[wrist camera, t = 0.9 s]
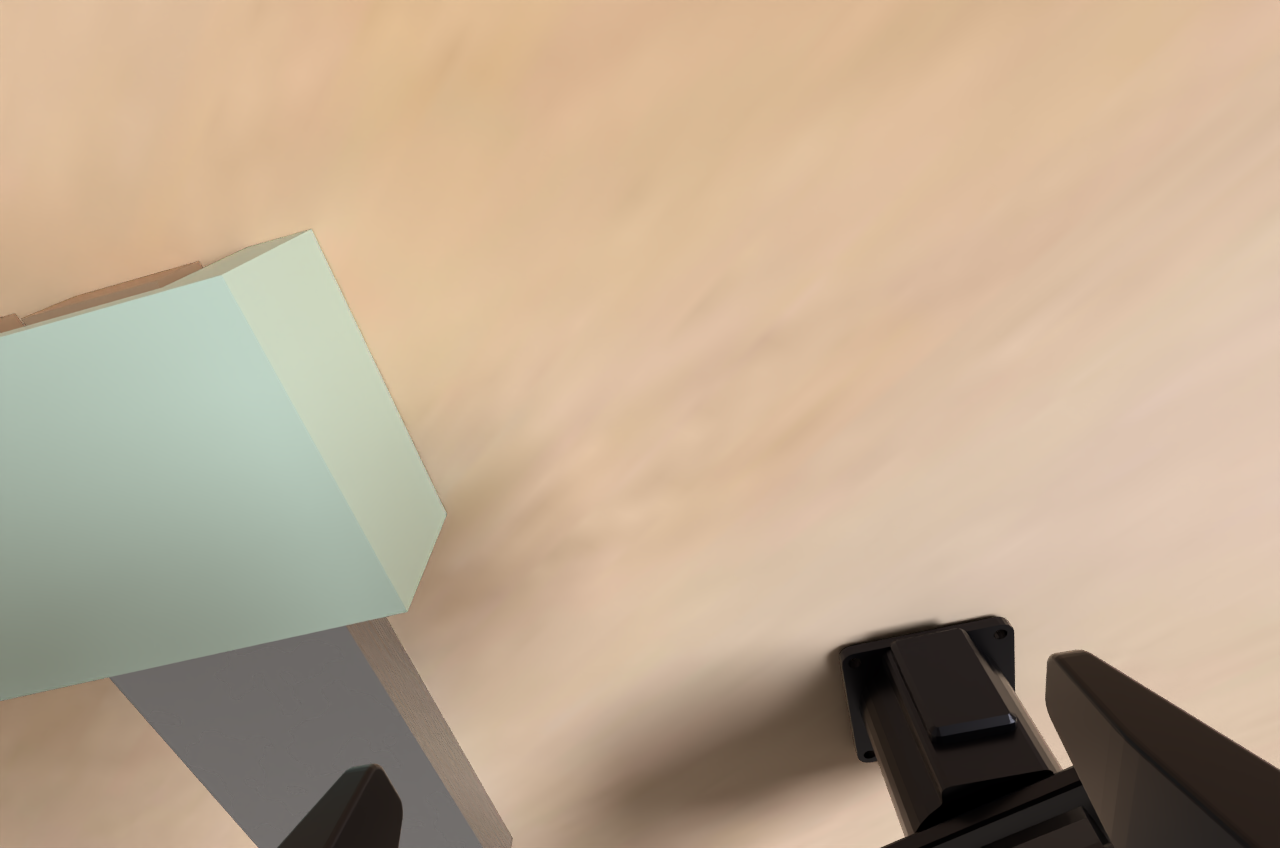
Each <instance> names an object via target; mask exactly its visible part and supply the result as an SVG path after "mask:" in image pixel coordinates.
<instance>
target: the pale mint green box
mask: <svg viewBox="0 0 1280 848" xmlns="http://www.w3.org/2000/svg"><path fill="white" fill-rule="evenodd" d="M22 321H23V322H24V323H25V325H26V326H23V324H22V323H21V321H20V320H19V319H18V317H17V316H16V314H11V315H8V316H4V317H1V318H0V701H3V700H8V699H12V698H17V697H21V696H26V695H30V694H35V693H40V692H44V691H49V690H53V689H58V688H62V687H67V686H71V685H76V684H81V683H85V682H90V681H94V680H99V679H103V678H108V677H113V676H117V675H122V674H126V673H131V672H135V671H140V670H145V669H149V668H154V667H158V666H163V665H167V664H172V663H176V662H181V661H186V660H190V659H195V658H199V657H204V656H208V655H213V654H218V653H222V652H227V651H231V650H236V649H240V648H245V647H250V646H254V645H259V644H263V643H268V642H272V641H277V640H282V639H286V638H291V637H295V636H300V635H304V634H309V633H313V632H318V631H323V630H327V629H332V628H336V627H341V626H345V625H350V624H355V623H359V622H364V621H368V620H373V619H377V618H382V617H387V616H391V615H396V614H400V613H405V612H408V609H409V607H410V605H411V602H412V600H413V597H414V595H415V592H416V590H417V587H418V585H419V582H420V580H421V577H422V575H423V572H424V570H425V567H426V565H427V562H428V560H429V557H430V555H431V553H432V550H433V548H434V545H435V543H436V540H437V538H438V535H439V533H440V530H441V528H442V525H443V523H444V520H445V518H446V515H447V513H446V511H445V509H444V507H443V505H442V503H441V501H440V498H439V496H438V494H437V492H436V490H435V488H434V486H433V484H432V482H431V480H430V477H429V475H428V473H427V471H426V469H425V467H424V465H423V463H422V461H421V458H420V456H419V454H418V452H417V450H416V448H415V446H414V444H413V442H412V440H411V437H410V435H409V433H408V431H407V429H406V427H405V425H404V423H403V421H402V418H401V416H400V414H399V412H398V410H397V408H396V406H395V404H394V402H393V400H392V397H391V395H390V393H389V391H388V389H387V387H386V385H385V383H384V381H383V379H382V376H381V374H380V372H379V370H378V368H377V366H376V364H375V362H374V360H373V357H372V355H371V353H370V351H369V349H368V347H367V345H366V343H365V341H364V339H363V336H362V334H361V332H360V330H359V328H358V326H357V324H356V322H355V320H354V318H353V315H352V313H351V311H350V309H349V307H348V305H347V303H346V301H345V299H344V296H343V294H342V292H341V290H340V288H339V286H338V284H337V282H336V280H335V278H334V275H333V273H332V271H331V269H330V267H329V265H328V263H327V261H326V259H325V257H324V254H323V252H322V250H321V248H320V246H319V244H318V242H317V240H316V238H315V235H314V233H313V231H312V229H310V230H306V231H303V232H299V233H296V234H292V235H289V236H285V237H282V238H278V239H275V240H271V241H268V242H264V243H261V244H257V245H254V246H250V247H247V248H245V249H242V250H240V251H238V252H236V253H234V254H232V255H230V256H228V257H225V258H223V259H221V260H219V261H217V262H215V263H213V264H211V265H209V266H206V267H204V268H202V266H201V264H200V262H199V261H198V262H194V263H190V264H187V265H183V266H180V267H176V268H173V269H169V270H166V271H162V272H159V273H155V274H152V275H148V276H145V277H141V278H138V279H134V280H131V281H127V282H124V283H120V284H117V285H113V286H110V287H106V288H103V289H99V290H96V291H92V292H89V293H85V294H82V295H78V296H75V297H72V298H70V299H67V300H65V301H63V302H60V303H58V304H55V305H53V306H51V307H48V308H46V309H43V310H41V311H38V312H36V313H34V314H31V315H29V316H26V317H24V318H22Z"/></svg>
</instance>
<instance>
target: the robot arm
mask: <svg viewBox="0 0 1280 848" xmlns="http://www.w3.org/2000/svg"><path fill="white" fill-rule="evenodd" d="M998 630H999V631H998ZM854 658H856V659H854ZM851 659H854V660H851ZM839 660H840V666H841V672H842V677H843V683H844V689H845V694H846V700H847V706H848V712H849V717H850V723H851V729H852V734H853V740H854V746H855V750H856V753H857V756H858V758H859V760H861V761H862V762H875V761H878V764H879V766H880V769H881V772H882V775H883V778H884V780H885V783H886V786H887V789H888V791H889V794H890V797H891V800H892V802H893V805H894V808H895V811H896V814H897V816H898V819H899V822H900V825H901V827H902V830H903V833H904V836H905V838H902V839H900V840H897V841H895V842H893V843H890V844H888V845H886V846H883V847H881V848H1280V769H1278V768H1276V767H1275V766H1273V765H1272V764H1270V763H1268V762H1267V761H1265V760H1263V759H1262V758H1260V757H1259V756H1257V755H1255V754H1254V753H1252V752H1250V751H1249V750H1247V749H1246V748H1244V747H1242V746H1241V745H1239V744H1237V743H1236V742H1234V741H1233V740H1231V739H1229V738H1228V737H1226V736H1224V735H1223V734H1221V733H1220V732H1218V731H1216V730H1215V729H1213V728H1211V727H1210V726H1208V725H1207V724H1205V723H1203V722H1202V721H1200V720H1199V719H1197V718H1195V717H1194V716H1192V715H1190V714H1189V713H1187V712H1186V711H1184V710H1182V709H1181V708H1179V707H1177V706H1176V705H1174V704H1173V703H1171V702H1169V701H1168V700H1166V699H1164V698H1163V697H1161V696H1160V695H1158V694H1156V693H1155V692H1153V691H1151V690H1150V689H1148V688H1147V687H1145V686H1143V685H1142V684H1140V683H1138V682H1137V681H1135V680H1134V679H1132V678H1130V677H1129V676H1127V675H1125V674H1124V673H1122V672H1121V671H1119V670H1117V669H1116V668H1114V667H1112V666H1111V665H1109V664H1108V663H1106V662H1104V661H1103V660H1101V659H1099V658H1098V657H1096V656H1095V655H1093V654H1091V653H1089V652H1087V651H1084V650H1073V651H1066V652H1060V653H1054V654H1052V655H1051V656H1050V657H1049V658H1048V661H1047V674H1046V693H1045V701H1046V707H1047V710H1048V713H1049V716H1050V718H1051V720H1052V723H1053V725H1054V727H1055V729H1056V731H1057V733H1058V735H1059V737H1060V739H1061V741H1062V743H1063V745H1064V747H1065V749H1066V751H1067V753H1068V755H1069V757H1070V760H1071V762H1072V764H1073V766H1071V767H1069V768H1066V769H1064V770H1063V769H1062V768H1061V766H1060V764H1059V763H1058V761H1057V759H1056V758H1055V756H1054V755H1053V753H1052V751H1051V750H1050V748H1049V747H1048V745H1047V743H1046V742H1045V740H1044V739H1043V737H1042V735H1041V734H1040V732H1039V730H1038V729H1037V727H1036V726H1035V724H1034V722H1033V721H1032V719H1031V718H1030V716H1029V714H1028V713H1027V711H1026V709H1025V708H1024V706H1023V705H1022V703H1021V701H1020V700H1019V698H1018V697H1017V695H1016V693H1015V657H1014V630H1013V627H1012V626H1011V625H1010V623H1009V622H1008V620H1006V619H1005V618H1003V617H994V618H989V619H984V620H979V621H974V622H969V623H964V624H959V625H954V626H949V627H944V628H939V629H934V630H929V631H924V632H919V633H914V634H909V635H903V636H898V637H893V638H888V639H883V640H878V641H873V642H868V643H863V644H858V645H853V646H849V647H846V648H845V649H843V650H842V651H841V652H840V654H839ZM402 820H403V806H402V802H401V799H400V797H399V795H398V793H397V791H396V790H395V788H394V786H393V785H392V783H391V781H390V780H389V778H388V776H387V774H386V773H385V771H384V769H383V768H382V767H381V766H380V765H378V764H367V765H361V766H355V767H352V768H349V769H348V770H346V771H345V772H344V773H343V774H342V775H341V776H340V777H339V779H338V780H337V781H336V782H335V783H334V784H333V785H332V786H331V788H330V789H329V790H328V791H327V792H326V793H325V794H324V795H323V797H322V798H321V799H320V800H319V801H318V802H317V803H316V804H315V806H314V807H313V808H312V809H311V810H310V811H309V812H308V813H307V814H306V816H305V817H304V818H303V819H302V820H301V821H300V822H299V823H298V825H297V826H296V827H295V828H294V829H293V830H292V831H291V832H290V834H289V835H288V836H287V837H286V838H285V839H284V840H283V841H282V843H281V844H280V845H279V846H278V847H277V848H399V841H400V834H401V827H402Z"/></svg>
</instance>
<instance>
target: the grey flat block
mask: <svg viewBox="0 0 1280 848" xmlns="http://www.w3.org/2000/svg"><path fill="white" fill-rule="evenodd" d="M109 678H110V679H111V680H112V682H113V683H114V684H115V685H116V686H117V687H118V688H119V690H120V691H121V692H122V693H123V694H124V695H125V696H126V697H127V699H128V700H129V701H130V702H131V703H132V704H133V705H134V707H135V708H136V709H137V710H138V711H139V712H140V713H141V715H142V716H143V717H144V718H145V719H146V720H147V721H148V723H149V724H150V725H151V726H152V727H153V728H154V729H155V730H156V732H157V733H158V734H159V735H160V736H161V737H162V738H163V740H164V741H165V742H166V743H167V744H168V745H169V746H170V748H171V749H172V750H173V751H174V752H175V753H176V754H177V756H178V757H179V758H180V759H181V760H182V761H183V762H184V763H185V765H186V766H187V767H188V768H189V769H190V770H191V771H192V773H193V774H194V775H195V776H196V777H197V778H198V779H199V781H200V782H201V783H202V784H203V785H204V786H205V787H206V789H207V790H208V791H209V792H210V793H211V794H212V795H213V797H214V798H215V799H216V800H217V801H218V802H219V803H220V804H221V806H222V807H223V808H224V809H225V810H226V811H227V812H228V814H229V815H230V816H231V817H232V818H233V819H234V820H235V822H236V823H237V824H238V825H239V826H240V827H241V828H242V830H243V831H244V832H245V833H246V834H247V835H248V836H249V837H250V839H251V840H252V841H253V842H254V843H255V844H256V845H257V847H258V848H277V847H278V846H279V845H280V844H281V843H282V841H283V840H284V839H285V838H286V837H287V836H288V835H289V834H290V832H291V831H292V830H293V829H294V828H295V827H296V826H297V825H298V823H299V822H300V821H301V820H302V819H303V818H304V817H305V816H306V814H307V813H308V812H309V811H310V810H311V809H312V808H313V807H314V806H315V804H316V803H317V802H318V801H319V800H320V799H321V798H322V797H323V795H324V794H325V793H326V792H327V791H328V790H329V789H330V788H331V786H332V785H333V784H334V783H335V782H336V781H337V780H338V779H339V777H340V776H341V775H342V774H343V773H344V772H345V771H346V770H348V769H349V768H352V767H355V766H361V765H367V764H378V765H380V766H381V767H382V768H383V769H384V771H385V773H386V774H387V776H388V778H389V780H390V781H391V783H392V785H393V786H394V788H395V790H396V791H397V793H398V795H399V797H400V799H401V802H402V806H403V820H402V827H401V834H400V841H399V848H511V846H512V839H513V838H512V836H511V834H510V833H509V831H508V829H507V827H506V826H505V824H504V822H503V821H502V819H501V817H500V815H499V814H498V812H497V810H496V808H495V807H494V805H493V803H492V801H491V800H490V798H489V796H488V794H487V793H486V791H485V789H484V787H483V786H482V784H481V782H480V780H479V779H478V777H477V775H476V773H475V772H474V770H473V768H472V766H471V765H470V763H469V761H468V759H467V758H466V756H465V754H464V753H463V751H462V749H461V747H460V746H459V744H458V742H457V740H456V739H455V737H454V735H453V733H452V732H451V730H450V728H449V726H448V725H447V723H446V721H445V719H444V718H443V716H442V714H441V712H440V711H439V709H438V707H437V705H436V704H435V702H434V700H433V698H432V697H431V695H430V693H429V691H428V690H427V688H426V686H425V685H424V683H423V681H422V679H421V678H420V676H419V674H418V672H417V671H416V669H415V667H414V665H413V664H412V662H411V660H410V658H409V657H408V655H407V653H406V651H405V650H404V648H403V646H402V644H401V643H400V641H399V639H398V637H397V636H396V634H395V632H394V630H393V629H392V627H391V625H390V623H389V622H388V620H387V618H386V617H382V618H377V619H373V620H368V621H364V622H359V623H355V624H350V625H345V626H341V627H336V628H332V629H327V630H323V631H318V632H313V633H309V634H304V635H300V636H295V637H291V638H286V639H282V640H277V641H272V642H268V643H263V644H259V645H254V646H250V647H245V648H240V649H236V650H231V651H227V652H222V653H218V654H213V655H208V656H204V657H199V658H195V659H190V660H186V661H181V662H176V663H172V664H167V665H163V666H158V667H154V668H149V669H145V670H140V671H135V672H131V673H126V674H122V675H117V676H113V677H109Z"/></svg>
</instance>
